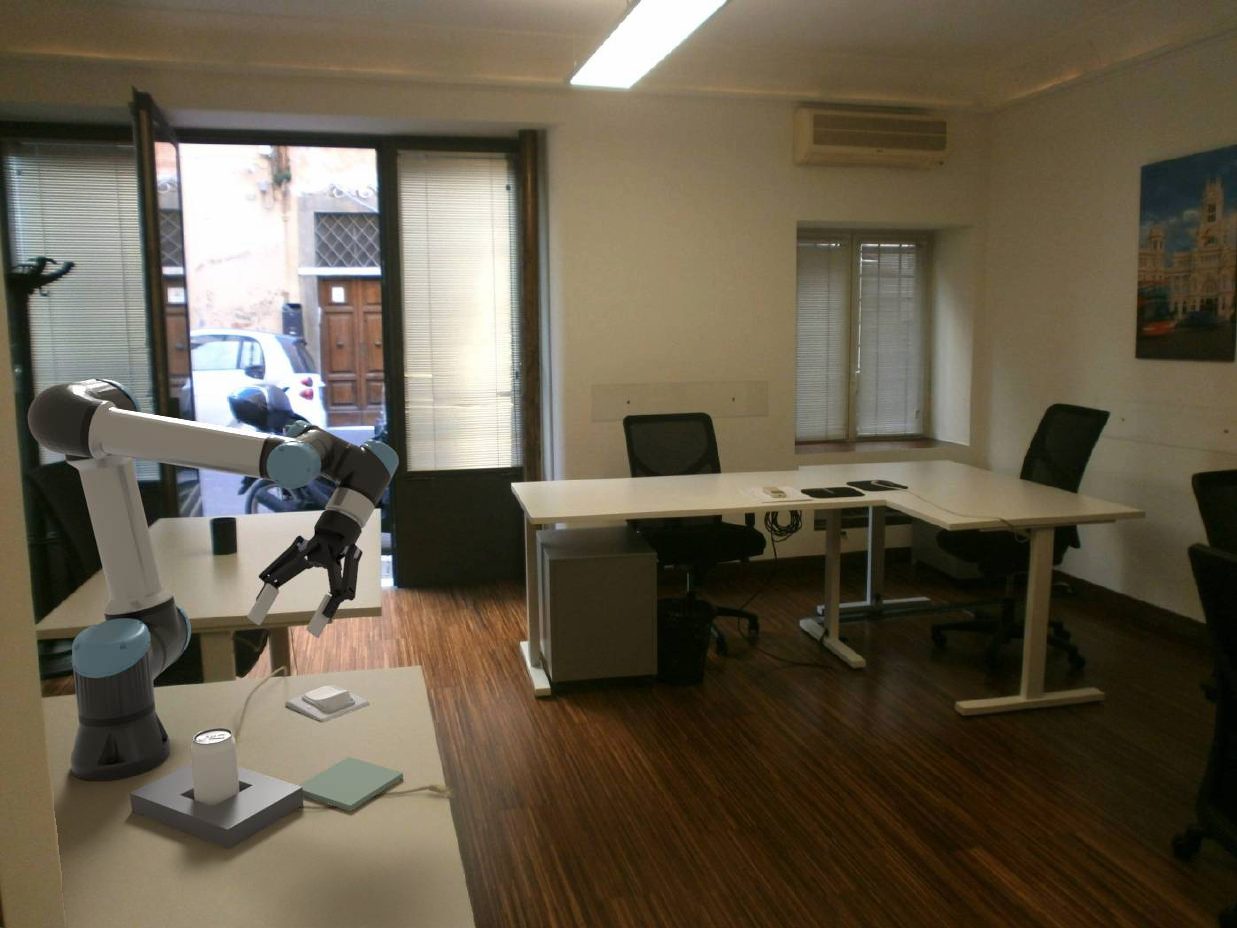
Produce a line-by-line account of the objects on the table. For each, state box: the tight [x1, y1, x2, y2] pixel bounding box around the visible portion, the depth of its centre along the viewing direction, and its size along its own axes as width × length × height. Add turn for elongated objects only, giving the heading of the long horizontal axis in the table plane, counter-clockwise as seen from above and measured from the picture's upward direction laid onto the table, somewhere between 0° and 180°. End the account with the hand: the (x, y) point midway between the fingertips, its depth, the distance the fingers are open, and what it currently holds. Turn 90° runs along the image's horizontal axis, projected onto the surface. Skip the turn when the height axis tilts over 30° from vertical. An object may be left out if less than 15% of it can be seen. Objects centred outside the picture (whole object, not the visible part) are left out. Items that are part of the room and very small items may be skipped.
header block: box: [129, 763, 304, 849], centre depth 150 cm, size 22×14×3 cm, turn 61°
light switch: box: [284, 683, 371, 723], centre depth 189 cm, size 11×4×13 cm
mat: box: [298, 756, 404, 813], centre depth 157 cm, size 12×12×1 cm
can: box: [190, 727, 239, 807], centre depth 149 cm, size 6×6×12 cm
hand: (282, 627), depth 159 cm, fingers open, 13 cm apart
